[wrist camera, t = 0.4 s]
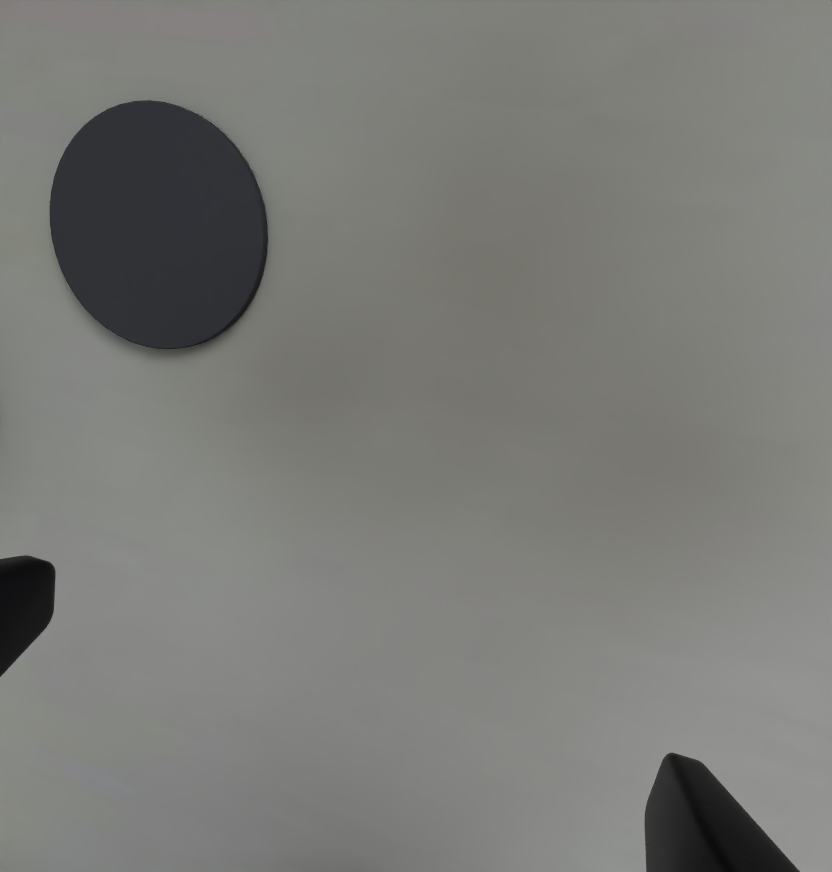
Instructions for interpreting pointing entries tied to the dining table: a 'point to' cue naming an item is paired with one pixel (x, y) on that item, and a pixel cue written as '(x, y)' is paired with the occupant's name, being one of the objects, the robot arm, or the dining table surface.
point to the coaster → (158, 224)
